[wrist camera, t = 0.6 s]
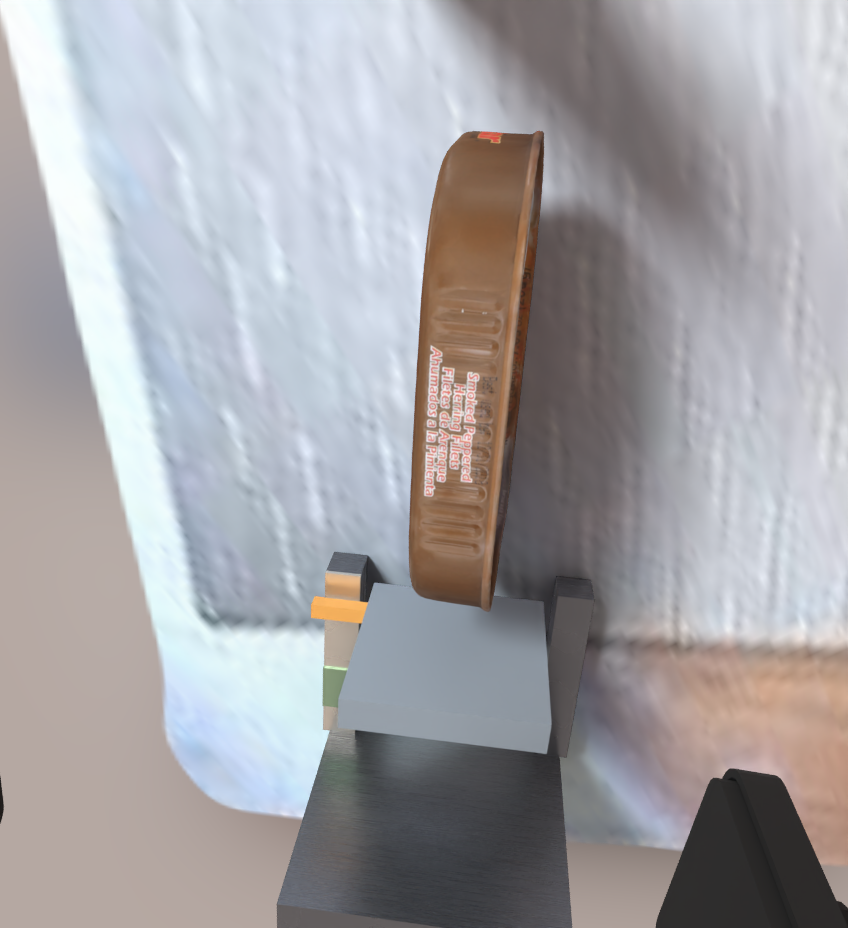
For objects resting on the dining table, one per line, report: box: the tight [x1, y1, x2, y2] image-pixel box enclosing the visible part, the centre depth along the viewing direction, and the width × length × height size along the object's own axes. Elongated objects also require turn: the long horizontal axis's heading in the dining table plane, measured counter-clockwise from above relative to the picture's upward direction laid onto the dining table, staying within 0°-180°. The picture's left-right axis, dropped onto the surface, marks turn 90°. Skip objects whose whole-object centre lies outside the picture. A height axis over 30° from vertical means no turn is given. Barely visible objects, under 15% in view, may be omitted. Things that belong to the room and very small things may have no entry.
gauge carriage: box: [311, 583, 552, 754], centre depth 28 cm, size 9×1×7 cm, turn 86°
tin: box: [409, 131, 544, 612], centre depth 24 cm, size 15×3×8 cm, turn 176°
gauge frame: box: [277, 552, 594, 928], centre depth 29 cm, size 11×10×10 cm
